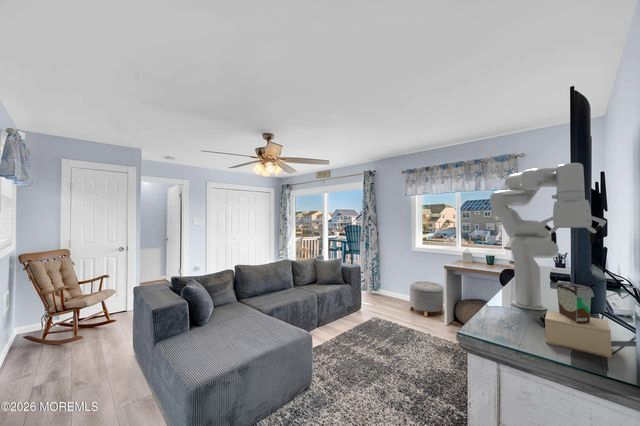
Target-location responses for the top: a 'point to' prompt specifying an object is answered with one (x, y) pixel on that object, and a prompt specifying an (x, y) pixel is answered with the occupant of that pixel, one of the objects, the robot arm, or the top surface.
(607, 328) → the lid
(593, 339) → the carton
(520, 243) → the robot arm
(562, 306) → the food container
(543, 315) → the black box
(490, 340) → the top surface
